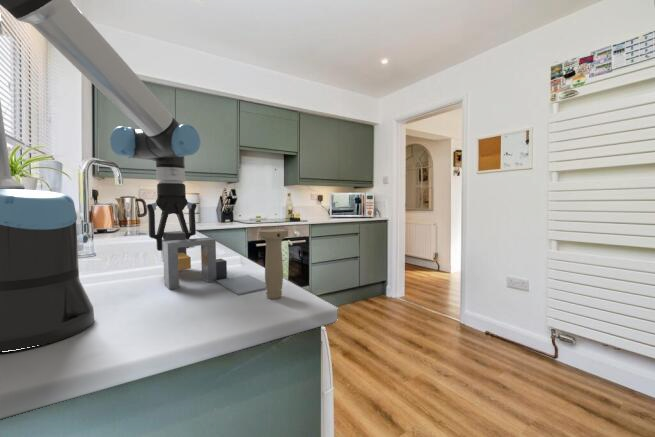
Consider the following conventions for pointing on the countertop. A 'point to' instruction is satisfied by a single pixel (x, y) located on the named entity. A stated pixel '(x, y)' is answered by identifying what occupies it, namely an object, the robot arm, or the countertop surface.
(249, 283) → the mat
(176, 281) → the housing
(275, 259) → the handle
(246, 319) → the countertop surface
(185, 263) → the grey and tan block
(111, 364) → the countertop surface
